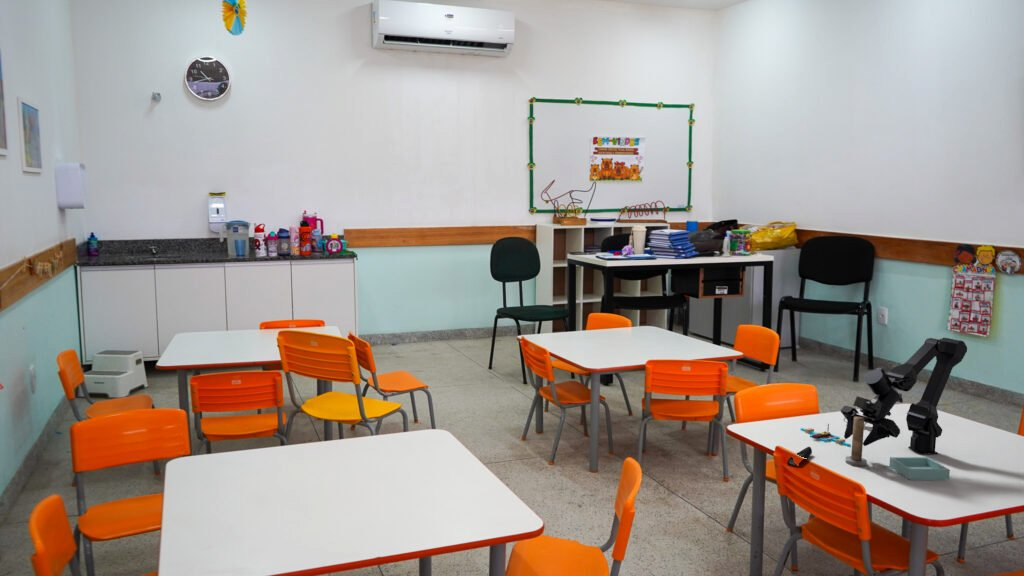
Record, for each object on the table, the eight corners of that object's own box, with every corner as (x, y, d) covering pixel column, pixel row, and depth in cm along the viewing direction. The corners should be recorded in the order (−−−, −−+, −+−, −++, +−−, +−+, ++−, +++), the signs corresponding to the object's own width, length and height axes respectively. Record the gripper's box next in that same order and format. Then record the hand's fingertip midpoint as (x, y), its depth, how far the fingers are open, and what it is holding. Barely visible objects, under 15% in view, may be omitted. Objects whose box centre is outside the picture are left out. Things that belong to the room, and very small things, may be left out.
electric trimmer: (815, 456, 242) (815, 447, 241) (797, 468, 230) (798, 458, 230) (803, 454, 244) (804, 444, 244) (785, 465, 233) (786, 455, 232)
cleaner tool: (860, 459, 238) (863, 415, 236) (870, 466, 232) (873, 420, 230) (842, 459, 238) (845, 415, 236) (851, 466, 232) (854, 420, 230)
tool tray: (927, 466, 233) (927, 457, 232) (948, 479, 222) (949, 469, 221) (889, 466, 232) (890, 457, 232) (909, 479, 221) (910, 469, 221)
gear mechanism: (838, 449, 249) (857, 446, 253) (839, 434, 248) (858, 430, 252) (790, 433, 266) (809, 429, 271) (791, 418, 266) (810, 415, 270)
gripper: (846, 380, 242) (818, 417, 239) (896, 394, 225) (866, 434, 222) (862, 402, 246) (835, 438, 243) (912, 417, 229) (884, 457, 226)
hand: (854, 441), depth 233 cm, fingers open, 7 cm apart
